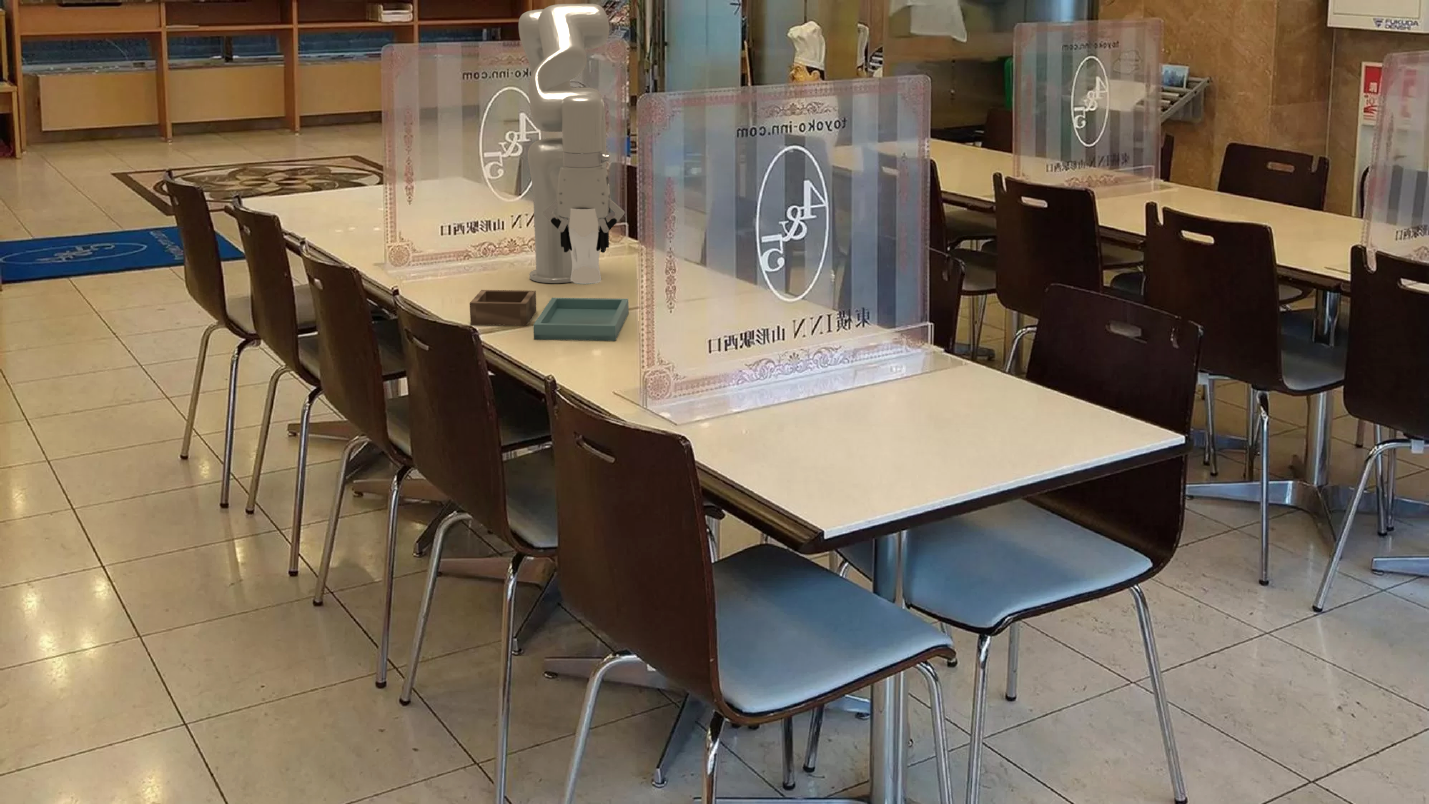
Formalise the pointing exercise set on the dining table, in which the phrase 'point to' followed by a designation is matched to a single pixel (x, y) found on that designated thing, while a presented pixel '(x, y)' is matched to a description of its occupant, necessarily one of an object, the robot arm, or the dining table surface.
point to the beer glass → (584, 245)
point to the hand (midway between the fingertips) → (585, 250)
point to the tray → (581, 319)
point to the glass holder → (503, 307)
